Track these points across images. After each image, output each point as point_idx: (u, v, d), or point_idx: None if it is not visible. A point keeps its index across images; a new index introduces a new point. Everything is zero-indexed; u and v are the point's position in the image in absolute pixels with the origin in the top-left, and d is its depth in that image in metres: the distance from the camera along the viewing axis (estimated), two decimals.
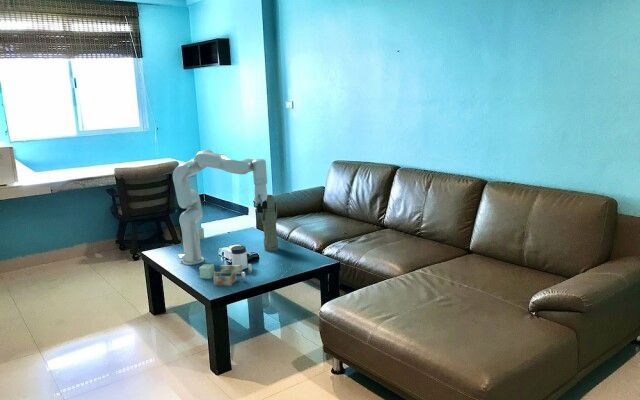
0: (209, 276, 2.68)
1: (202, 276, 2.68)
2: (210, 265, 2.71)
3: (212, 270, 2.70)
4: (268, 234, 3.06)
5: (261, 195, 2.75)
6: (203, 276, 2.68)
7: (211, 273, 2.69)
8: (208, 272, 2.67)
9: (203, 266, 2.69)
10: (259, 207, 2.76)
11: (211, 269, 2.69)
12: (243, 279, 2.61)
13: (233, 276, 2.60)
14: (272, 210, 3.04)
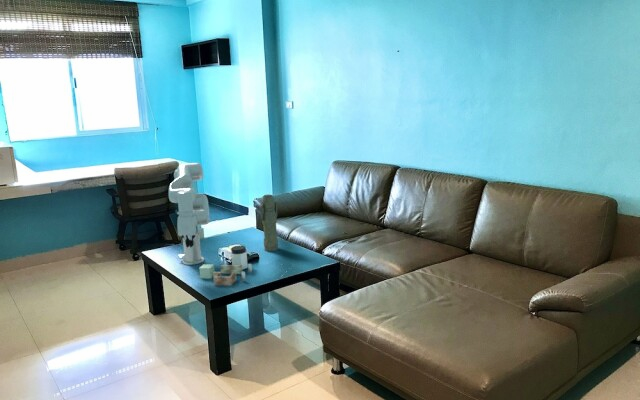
0: (209, 276, 2.68)
1: (202, 276, 2.68)
2: (210, 265, 2.71)
3: (212, 270, 2.70)
4: (268, 234, 3.06)
5: (197, 226, 2.67)
6: (203, 276, 2.68)
7: (211, 273, 2.69)
8: (208, 272, 2.67)
9: (203, 266, 2.69)
10: (192, 240, 2.68)
11: (211, 269, 2.69)
12: (243, 279, 2.61)
13: (233, 276, 2.60)
14: (272, 210, 3.04)
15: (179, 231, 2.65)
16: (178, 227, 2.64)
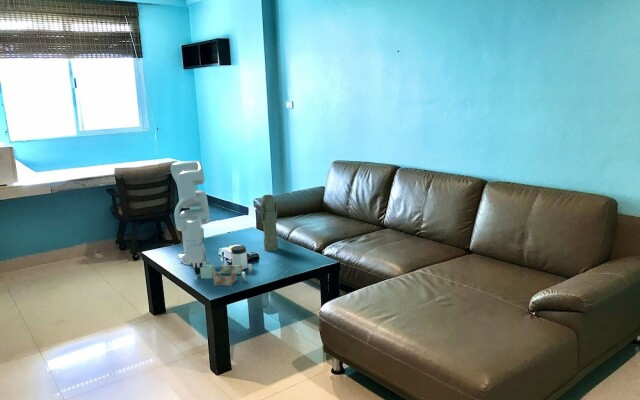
0: (210, 276, 2.67)
1: (203, 276, 2.68)
2: (211, 265, 2.71)
3: (213, 270, 2.70)
4: (268, 234, 3.06)
5: (205, 253, 2.70)
6: (204, 276, 2.68)
7: (212, 273, 2.69)
8: (209, 272, 2.67)
9: (204, 266, 2.69)
10: None
11: (212, 269, 2.69)
12: (243, 279, 2.61)
13: (233, 276, 2.60)
14: (272, 210, 3.04)
15: (187, 259, 2.68)
16: (186, 255, 2.67)
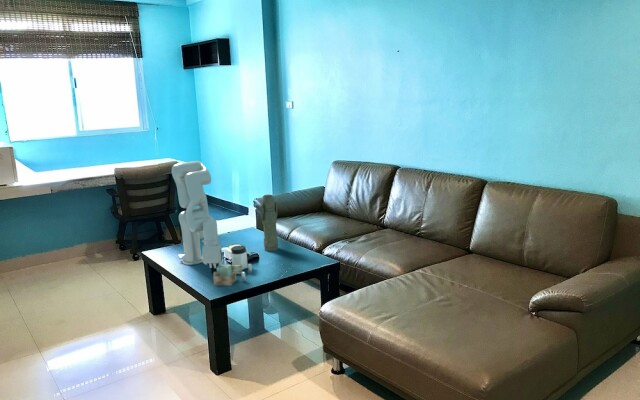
0: None
1: None
2: (227, 265, 2.69)
3: (229, 270, 2.68)
4: (268, 234, 3.06)
5: None
6: None
7: (228, 273, 2.67)
8: (225, 272, 2.65)
9: (220, 266, 2.68)
10: (216, 268, 2.69)
11: (228, 270, 2.67)
12: (243, 279, 2.61)
13: (233, 276, 2.60)
14: (272, 210, 3.04)
15: (204, 259, 2.66)
16: (203, 255, 2.66)
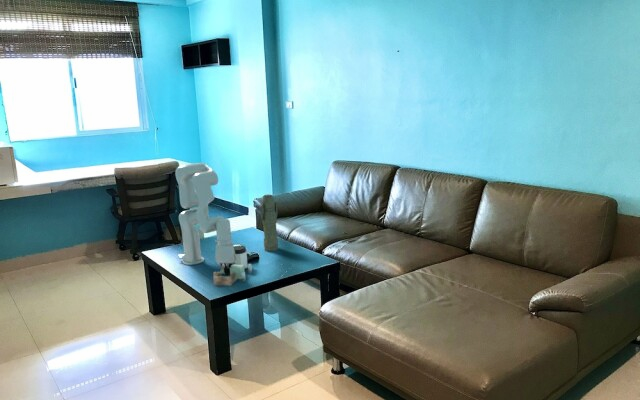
0: (239, 276, 2.65)
1: None
2: (240, 265, 2.68)
3: (242, 270, 2.67)
4: (268, 234, 3.06)
5: None
6: None
7: None
8: (238, 272, 2.64)
9: (233, 267, 2.66)
10: (229, 268, 2.68)
11: (242, 270, 2.66)
12: (243, 279, 2.61)
13: (233, 276, 2.60)
14: (272, 210, 3.04)
15: (217, 259, 2.65)
16: (216, 255, 2.65)
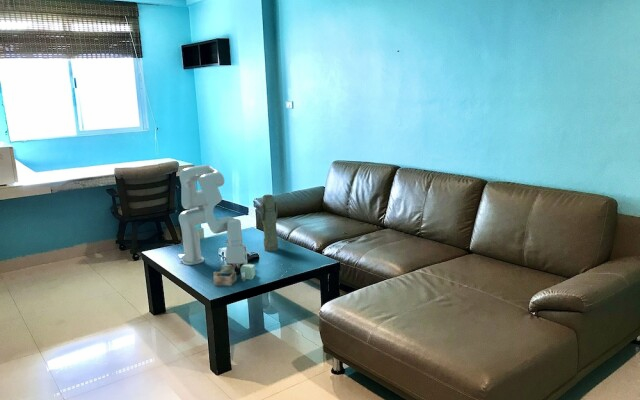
0: (250, 277, 2.64)
1: None
2: (251, 265, 2.67)
3: (253, 271, 2.66)
4: (268, 234, 3.06)
5: (245, 254, 2.66)
6: None
7: (252, 274, 2.65)
8: (249, 273, 2.63)
9: (244, 267, 2.65)
10: (240, 268, 2.67)
11: (252, 270, 2.65)
12: (243, 279, 2.61)
13: (233, 276, 2.60)
14: (272, 210, 3.04)
15: (228, 259, 2.64)
16: (227, 255, 2.64)
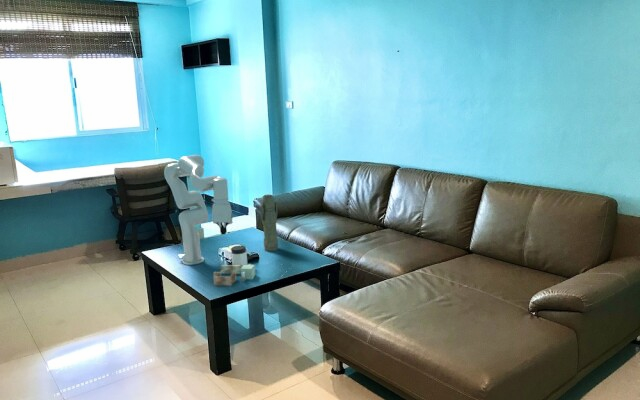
0: (250, 277, 2.64)
1: None
2: (251, 266, 2.67)
3: (253, 271, 2.66)
4: (268, 234, 3.06)
5: (231, 213, 2.65)
6: None
7: (252, 274, 2.65)
8: (249, 273, 2.63)
9: (244, 267, 2.65)
10: (225, 228, 2.67)
11: (252, 270, 2.65)
12: (243, 279, 2.61)
13: (233, 276, 2.60)
14: (272, 210, 3.04)
15: (214, 218, 2.63)
16: (213, 214, 2.63)
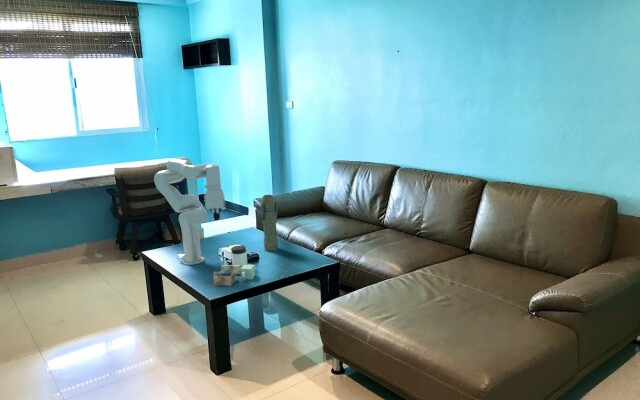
0: (250, 277, 2.64)
1: None
2: (251, 266, 2.67)
3: (253, 271, 2.66)
4: (268, 234, 3.06)
5: (224, 199, 2.73)
6: None
7: (252, 274, 2.65)
8: (249, 273, 2.63)
9: (244, 267, 2.65)
10: (219, 214, 2.74)
11: (252, 270, 2.65)
12: (243, 279, 2.61)
13: (233, 276, 2.60)
14: (272, 210, 3.04)
15: (207, 204, 2.71)
16: (206, 200, 2.70)
